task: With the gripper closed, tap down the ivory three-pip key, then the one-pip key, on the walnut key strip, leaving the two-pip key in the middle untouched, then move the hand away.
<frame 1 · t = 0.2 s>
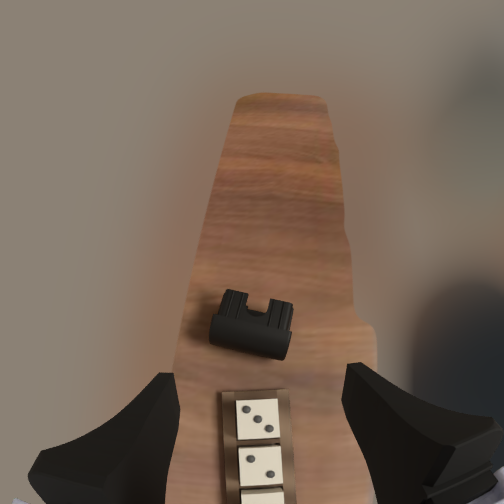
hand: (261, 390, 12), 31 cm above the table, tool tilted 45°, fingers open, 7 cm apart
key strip: (259, 463, 35), on the table
end cap: (251, 335, 45), on the table
tile three: (257, 419, 35), point 3 cm above the table, slide at 0.0 cm
tile two: (260, 465, 32), point 3 cm above the table, slide at 0.0 cm
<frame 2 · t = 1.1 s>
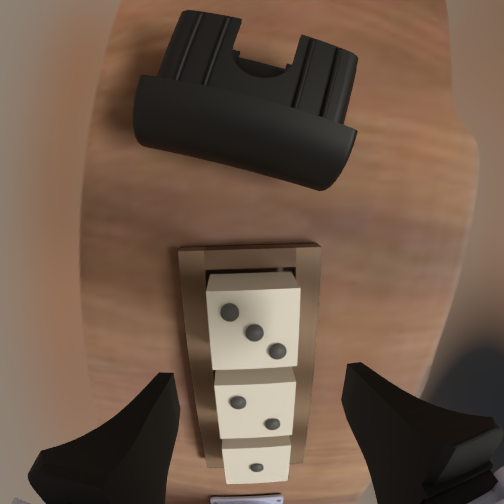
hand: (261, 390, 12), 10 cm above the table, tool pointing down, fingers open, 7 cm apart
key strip: (252, 377, 23), on the table
tile one: (255, 454, 22), point 3 cm above the table, slide at 0.0 cm
end cap: (246, 115, 19), on the table
tile three: (253, 321, 19), point 3 cm above the table, slide at 0.0 cm
tile two: (254, 400, 20), point 3 cm above the table, slide at 0.0 cm
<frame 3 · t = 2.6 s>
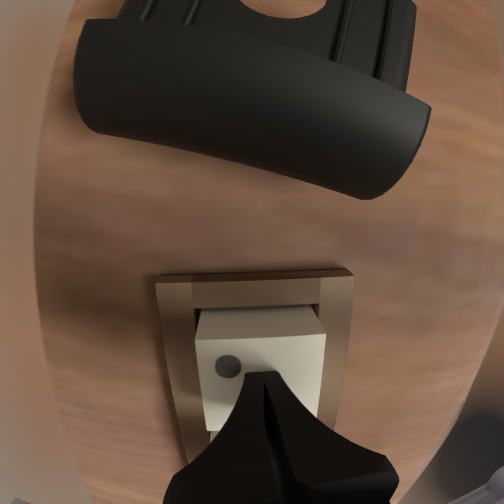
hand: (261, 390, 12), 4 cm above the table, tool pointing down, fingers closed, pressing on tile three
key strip: (257, 430, 17), on the table
end cap: (251, 91, 13), on the table
tile three: (259, 370, 14), point 2 cm above the table, slide at 0.7 cm, touching gripper
tile two: (260, 463, 14), point 3 cm above the table, slide at 0.0 cm
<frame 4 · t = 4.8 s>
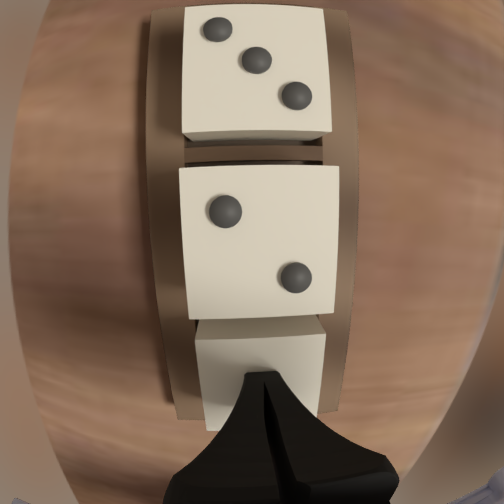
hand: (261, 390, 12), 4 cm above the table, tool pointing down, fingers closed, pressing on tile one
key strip: (254, 224, 14), on the table
tile one: (259, 370, 14), point 2 cm above the table, slide at 0.7 cm, touching gripper
tile three: (254, 73, 11), point 2 cm above the table, slide at 0.7 cm
tile two: (258, 236, 11), point 3 cm above the table, slide at 0.0 cm
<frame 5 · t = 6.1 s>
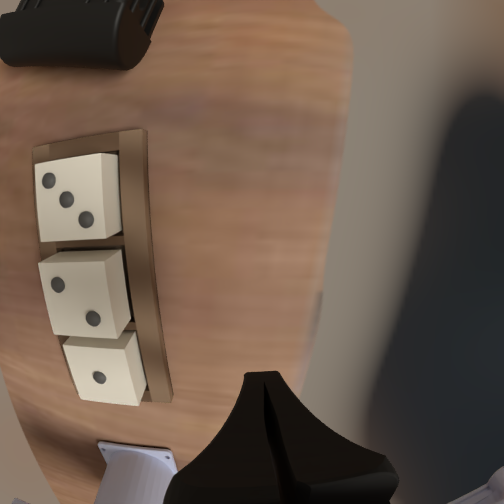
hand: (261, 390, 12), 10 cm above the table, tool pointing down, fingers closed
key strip: (100, 280, 21), on the table
tile one: (106, 366, 21), point 2 cm above the table, slide at 0.7 cm
end cap: (97, 37, 17), on the table
tile three: (77, 197, 18), point 2 cm above the table, slide at 0.7 cm
tile two: (84, 293, 19), point 3 cm above the table, slide at 0.0 cm
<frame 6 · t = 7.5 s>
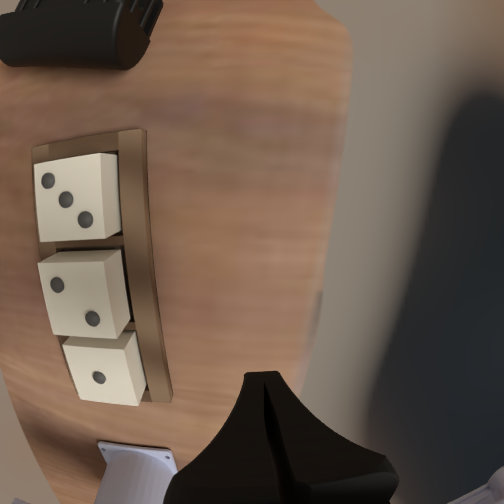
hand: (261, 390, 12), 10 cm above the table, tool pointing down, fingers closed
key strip: (99, 280, 21), on the table
tile one: (105, 366, 21), point 2 cm above the table, slide at 0.7 cm
end cap: (97, 37, 17), on the table
tile three: (76, 197, 18), point 2 cm above the table, slide at 0.7 cm
tile two: (84, 293, 19), point 3 cm above the table, slide at 0.0 cm
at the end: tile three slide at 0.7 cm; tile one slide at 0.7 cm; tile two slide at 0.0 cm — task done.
